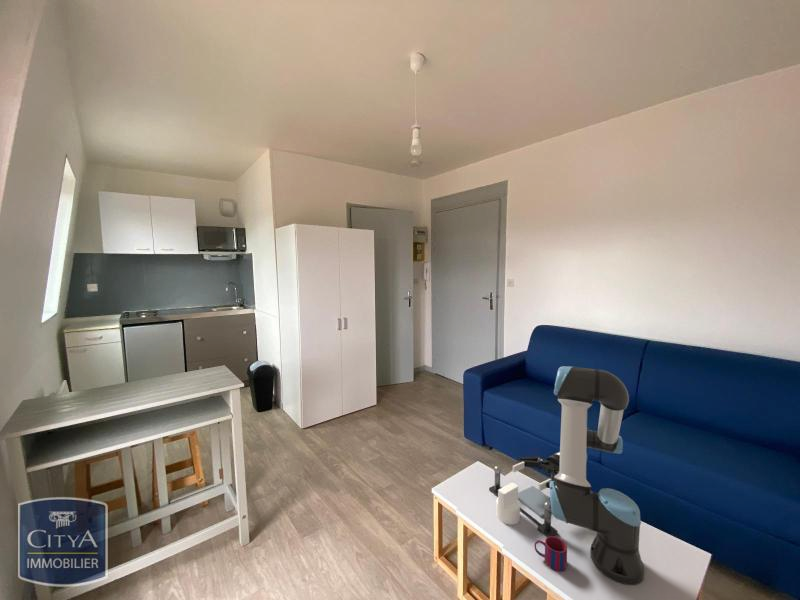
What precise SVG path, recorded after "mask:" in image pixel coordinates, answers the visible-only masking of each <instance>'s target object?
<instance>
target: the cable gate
mask: <svg viewBox="0 0 800 600" xmlns="http://www.w3.org/2000/svg"><path fill="white" fill-rule="evenodd" d="M493 473H494V485H492V486H489V488H488V491H490V493H492V494H493V495H495V497H496V498H497V497H498V490H499V489H501V488H503V487H502V486H501V473H502V468H501V467H500V466H499V465H496V466H494V468H493ZM543 506H544V516H543V520H544V521H543V523H540V521H538V520H537V519H536V518H534V517H533V516H532V515H531V514H530V513H528V512H527V511H525V510H524V509H523V508H522V507H520V513H521V512H522V514H523V515H525V516H526V517H527V518H529V519H530V520H532V522H534V523H535V524H536V525H537V529H536V530H537V531H538V532H539V533H540V534H542V535H543V536H544V537H546V538H547V537H550V536H554V537H556V536H557V535H558V529H556V528H554V527H553V526H552V512H551V511H552V510H551V503H550V502H548V501H547V502H545V503H544V505H543Z"/></svg>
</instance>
